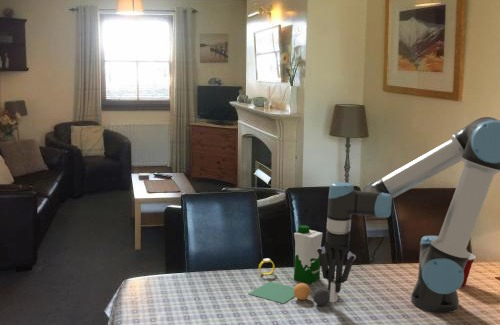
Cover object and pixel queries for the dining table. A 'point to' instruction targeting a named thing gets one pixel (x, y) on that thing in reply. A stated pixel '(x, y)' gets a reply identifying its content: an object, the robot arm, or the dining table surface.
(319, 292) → the cue ball black
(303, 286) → the ball orange
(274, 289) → the green mark
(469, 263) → the plastic cup
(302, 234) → the milk carton
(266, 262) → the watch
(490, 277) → the dining table surface
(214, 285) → the dining table surface
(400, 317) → the dining table surface
